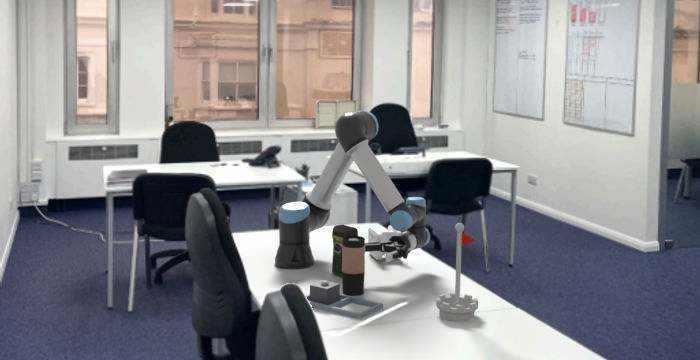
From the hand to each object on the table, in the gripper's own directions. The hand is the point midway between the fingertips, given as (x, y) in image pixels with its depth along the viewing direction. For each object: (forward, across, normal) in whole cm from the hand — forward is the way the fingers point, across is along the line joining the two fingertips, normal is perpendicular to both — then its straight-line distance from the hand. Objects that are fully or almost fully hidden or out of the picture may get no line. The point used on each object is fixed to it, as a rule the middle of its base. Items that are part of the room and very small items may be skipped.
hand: (369, 255), depth 282 cm
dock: (+24, -4, -12) cm, 27 cm away
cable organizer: (-39, +19, -12) cm, 45 cm away
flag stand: (+7, -38, -13) cm, 40 cm away
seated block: (+24, +2, -11) cm, 26 cm away
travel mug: (+10, 0, -12) cm, 16 cm away
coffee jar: (-9, +17, -12) cm, 23 cm away
